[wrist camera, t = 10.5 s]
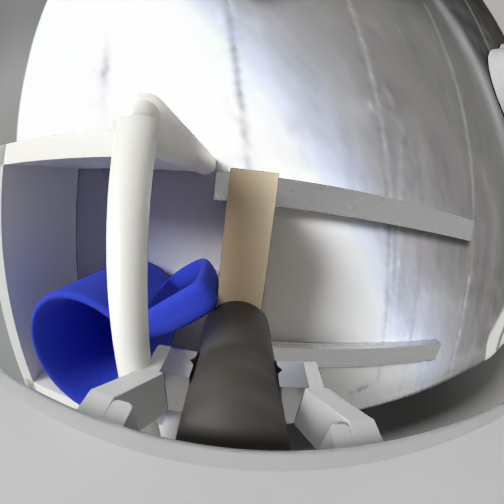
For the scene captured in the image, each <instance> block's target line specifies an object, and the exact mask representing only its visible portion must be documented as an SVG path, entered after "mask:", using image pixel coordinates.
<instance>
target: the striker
mask: <svg viewBox="0 0 504 504" xmlns="http://www.w3.org/2000/svg"><path fill="white" fill-rule="evenodd" d="M278 177H279V173H272V172H264V171H256V170H247V169H238V168H231V169H230V177H229V186H228V195H227V204H226V213H225V223H224V233H223V243H222V254H221V265H220V276H219V288H218V300H217V307H215V309H214V310H212V311H211V312H210V314H209V315H208V317H207V319H206V322H205V326H204V330H203V333H202V337H201V341H200V344H199V348H198V352H199V353H198V357H197V360H196V363H195V365H194V368H193V374H192V378H191V381H190V385H189V387H188V390H187V394H186V398H185V402H184V406H183V410H182V414H181V418H180V423H179V427H178V431H177V435H176V439H175V440H180V441H185V442H190V443H196V444H203V445H210V446H217V447H226V448H236V449H249V450H269V451H290V442H289V437H288V431H287V426H286V420H285V414H284V409H283V403H282V397H281V393H280V391H279V386H278V380H277V377H278V376H277V372H276V366H275V358H274V353H273V347H272V342H271V336H270V331H269V325H268V321H267V319H266V317H265V315H264V314H263V312H262V311H261V307H262V300H263V293H264V286H265V279H266V271H267V264H268V256H269V249H270V241H271V233H272V226H273V218H274V210H275V202H276V194H277V185H278Z"/></svg>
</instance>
